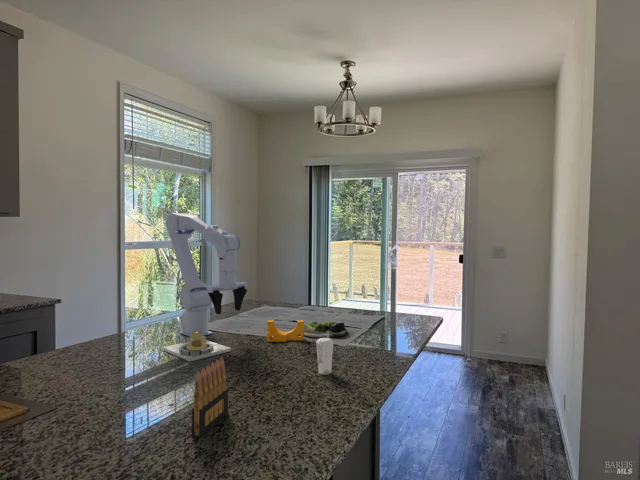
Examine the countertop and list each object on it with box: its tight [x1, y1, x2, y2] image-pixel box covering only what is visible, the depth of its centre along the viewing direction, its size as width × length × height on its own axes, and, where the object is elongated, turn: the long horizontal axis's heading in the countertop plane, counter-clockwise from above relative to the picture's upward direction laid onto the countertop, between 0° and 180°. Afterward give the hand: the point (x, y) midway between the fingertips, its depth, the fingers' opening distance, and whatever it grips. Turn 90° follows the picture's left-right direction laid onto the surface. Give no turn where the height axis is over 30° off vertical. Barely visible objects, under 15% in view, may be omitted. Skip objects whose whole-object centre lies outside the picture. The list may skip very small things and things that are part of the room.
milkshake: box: [315, 332, 335, 376], centre depth 113 cm, size 4×5×10 cm
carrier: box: [162, 335, 232, 363], centre depth 133 cm, size 16×14×4 cm
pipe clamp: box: [266, 319, 305, 343], centre depth 146 cm, size 12×4×6 cm, turn 89°
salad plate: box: [304, 321, 348, 339], centre depth 155 cm, size 19×18×5 cm
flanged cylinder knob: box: [186, 331, 207, 351], centre depth 130 cm, size 6×6×6 cm
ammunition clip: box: [191, 356, 229, 438], centre depth 84 cm, size 11×2×12 cm, turn 164°
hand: (228, 311), depth 144 cm, fingers open, 7 cm apart
